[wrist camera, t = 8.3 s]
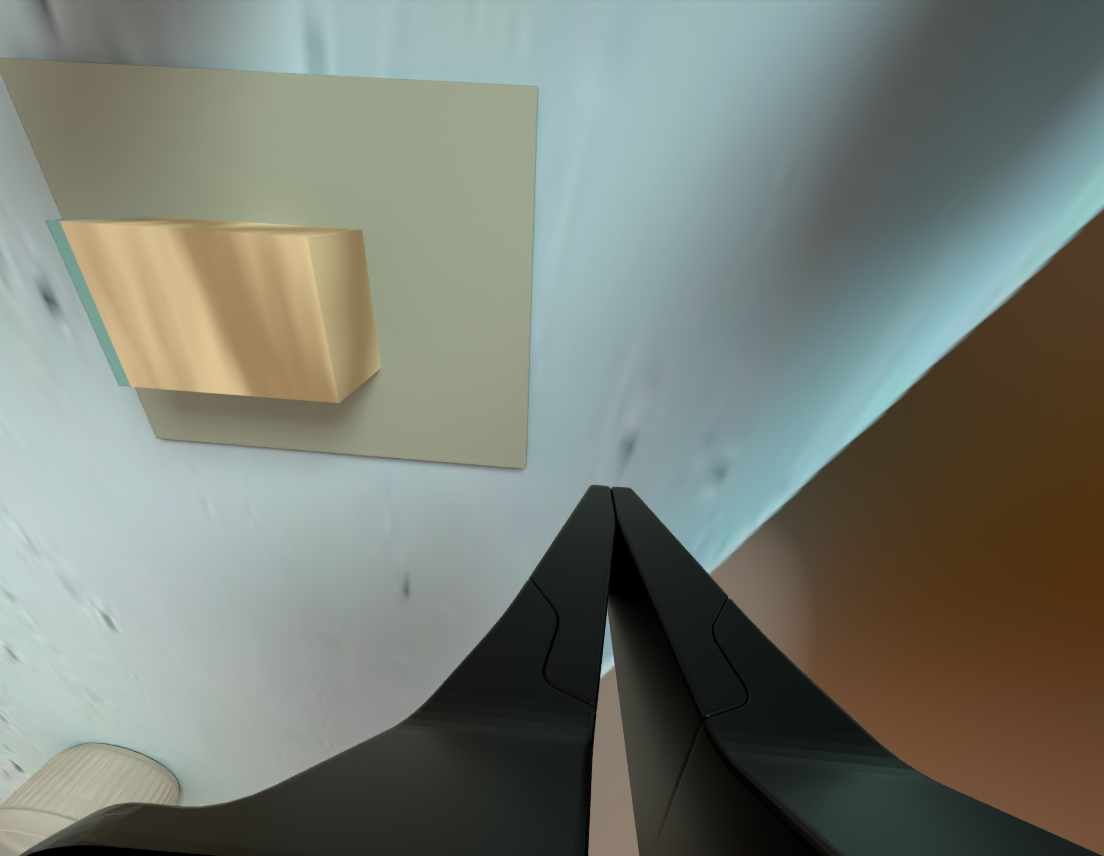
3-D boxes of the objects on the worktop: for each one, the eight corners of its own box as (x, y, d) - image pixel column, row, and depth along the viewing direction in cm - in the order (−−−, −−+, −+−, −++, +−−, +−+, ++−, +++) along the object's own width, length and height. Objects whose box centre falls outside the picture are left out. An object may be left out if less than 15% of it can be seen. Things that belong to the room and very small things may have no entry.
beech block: (306, 237, 14) (45, 220, 15) (338, 403, 17) (119, 385, 17) (362, 229, 18) (150, 216, 18) (380, 368, 21) (197, 354, 21)
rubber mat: (538, 88, 16) (537, 86, 15) (526, 464, 23) (525, 468, 23) (7, 60, 16) (-7, 57, 16) (162, 434, 24) (156, 438, 23)
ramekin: (134, 809, 48) (67, 900, 41) (26, 746, 42) (-69, 838, 36) (221, 793, 44) (162, 889, 38) (116, 722, 39) (28, 820, 33)
